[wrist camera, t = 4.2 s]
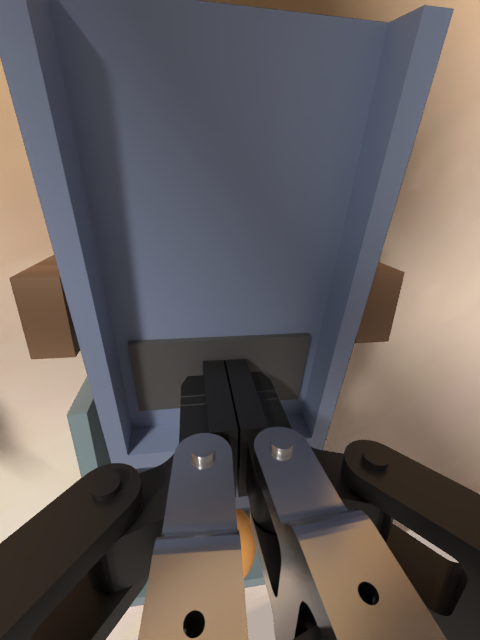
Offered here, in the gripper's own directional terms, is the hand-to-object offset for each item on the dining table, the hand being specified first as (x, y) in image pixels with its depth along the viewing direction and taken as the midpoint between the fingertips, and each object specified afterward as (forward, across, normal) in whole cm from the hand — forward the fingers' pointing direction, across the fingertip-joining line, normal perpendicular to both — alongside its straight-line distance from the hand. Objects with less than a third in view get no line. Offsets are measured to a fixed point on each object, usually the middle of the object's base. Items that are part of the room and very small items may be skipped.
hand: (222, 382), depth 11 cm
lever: (+1, 0, 0) cm, 1 cm away
